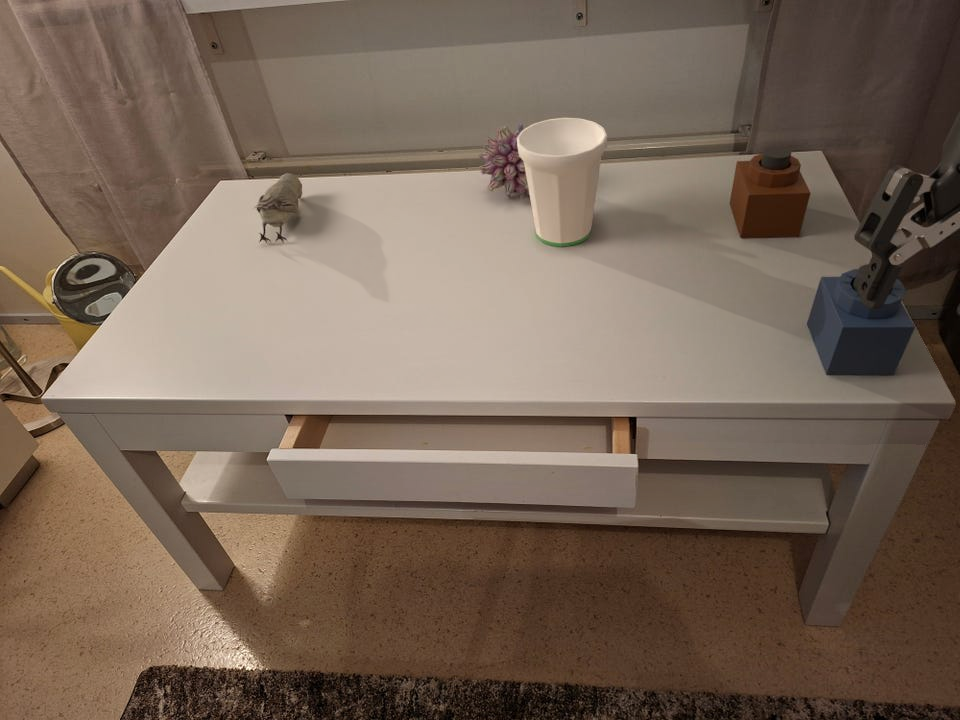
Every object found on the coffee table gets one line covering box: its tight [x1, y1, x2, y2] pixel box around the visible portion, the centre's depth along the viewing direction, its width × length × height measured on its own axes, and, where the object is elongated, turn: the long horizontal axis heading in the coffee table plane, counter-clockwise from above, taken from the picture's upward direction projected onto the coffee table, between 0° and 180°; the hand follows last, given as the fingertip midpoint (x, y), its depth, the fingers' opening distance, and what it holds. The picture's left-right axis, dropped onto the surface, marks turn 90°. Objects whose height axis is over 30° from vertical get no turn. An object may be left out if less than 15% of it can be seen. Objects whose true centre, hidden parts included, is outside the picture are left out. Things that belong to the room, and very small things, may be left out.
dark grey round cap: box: [853, 263, 869, 292], centre depth 70 cm, size 3×3×2 cm
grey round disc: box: [761, 145, 792, 170], centre depth 91 cm, size 4×4×2 cm
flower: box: [477, 122, 530, 199], centre depth 107 cm, size 12×12×12 cm
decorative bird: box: [252, 172, 303, 244], centre depth 109 cm, size 5×16×7 cm, turn 176°
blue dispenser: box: [806, 268, 916, 376], centre depth 73 cm, size 9×7×9 cm
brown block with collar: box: [729, 152, 811, 239], centre depth 94 cm, size 10×8×9 cm
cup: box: [517, 117, 608, 247], centre depth 95 cm, size 12×12×15 cm
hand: (918, 311), depth 52 cm, fingers open, 8 cm apart
